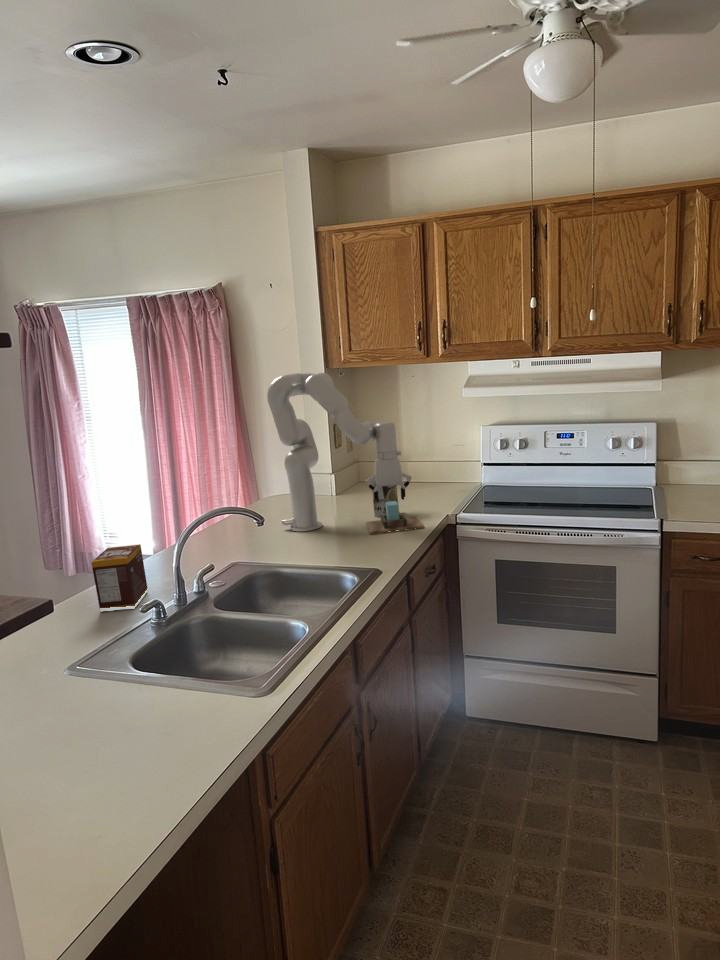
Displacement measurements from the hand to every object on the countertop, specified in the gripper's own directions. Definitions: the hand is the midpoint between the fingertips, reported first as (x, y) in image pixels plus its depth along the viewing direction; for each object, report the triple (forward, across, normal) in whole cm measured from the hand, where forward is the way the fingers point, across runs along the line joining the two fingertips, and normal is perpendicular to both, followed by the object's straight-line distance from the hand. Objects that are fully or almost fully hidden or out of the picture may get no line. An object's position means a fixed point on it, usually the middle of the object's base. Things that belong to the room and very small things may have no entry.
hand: (390, 500), depth 272 cm
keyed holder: (+10, -1, 0) cm, 10 cm away
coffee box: (+11, -1, -20) cm, 22 cm away
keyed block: (+9, -1, 0) cm, 9 cm away
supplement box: (+12, +88, +51) cm, 103 cm away
